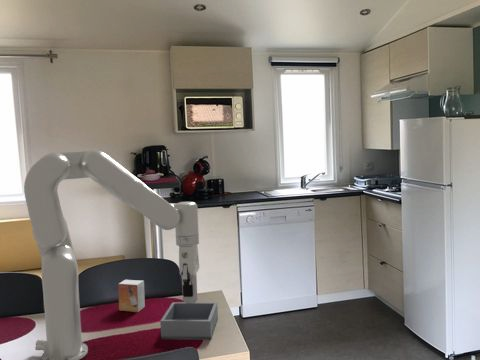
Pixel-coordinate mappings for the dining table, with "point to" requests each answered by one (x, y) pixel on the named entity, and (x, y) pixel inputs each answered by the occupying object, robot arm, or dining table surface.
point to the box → (189, 321)
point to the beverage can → (194, 297)
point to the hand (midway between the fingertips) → (189, 292)
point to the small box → (131, 295)
